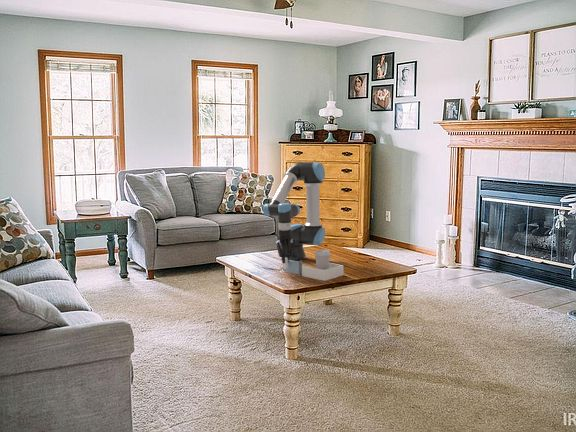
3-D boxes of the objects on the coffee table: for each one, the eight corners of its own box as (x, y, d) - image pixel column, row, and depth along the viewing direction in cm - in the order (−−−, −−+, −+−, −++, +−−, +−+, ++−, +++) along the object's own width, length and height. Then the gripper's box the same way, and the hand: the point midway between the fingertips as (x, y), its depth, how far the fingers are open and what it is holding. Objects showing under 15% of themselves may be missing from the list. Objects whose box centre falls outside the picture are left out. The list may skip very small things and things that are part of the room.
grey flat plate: (300, 274, 338) (300, 262, 337) (298, 274, 337) (298, 262, 336) (284, 270, 347) (284, 259, 346) (282, 271, 346) (282, 259, 345)
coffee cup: (313, 273, 340) (313, 249, 338) (329, 273, 341) (329, 248, 339) (315, 277, 331) (315, 252, 328) (332, 277, 331) (331, 252, 329)
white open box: (299, 275, 337) (299, 260, 335) (318, 270, 349) (318, 255, 348) (324, 280, 323) (324, 265, 322) (343, 275, 336) (343, 260, 335)
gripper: (279, 231, 329) (279, 271, 333) (297, 229, 337) (298, 267, 340) (272, 229, 336) (272, 268, 339) (290, 227, 343) (291, 265, 346)
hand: (285, 268), depth 339 cm, fingers closed
